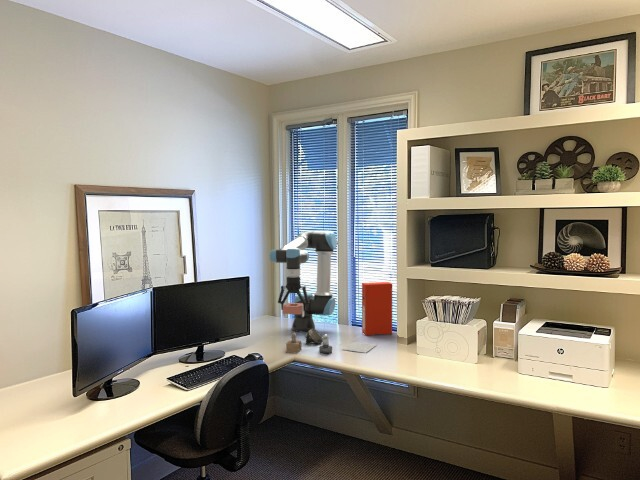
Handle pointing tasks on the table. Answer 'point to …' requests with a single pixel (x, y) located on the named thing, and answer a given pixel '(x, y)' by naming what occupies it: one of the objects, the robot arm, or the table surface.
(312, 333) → the fossil
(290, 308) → the salmon square frame
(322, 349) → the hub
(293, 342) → the stand
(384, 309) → the file binder
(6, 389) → the table surface
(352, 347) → the paper stack
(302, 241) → the robot arm
